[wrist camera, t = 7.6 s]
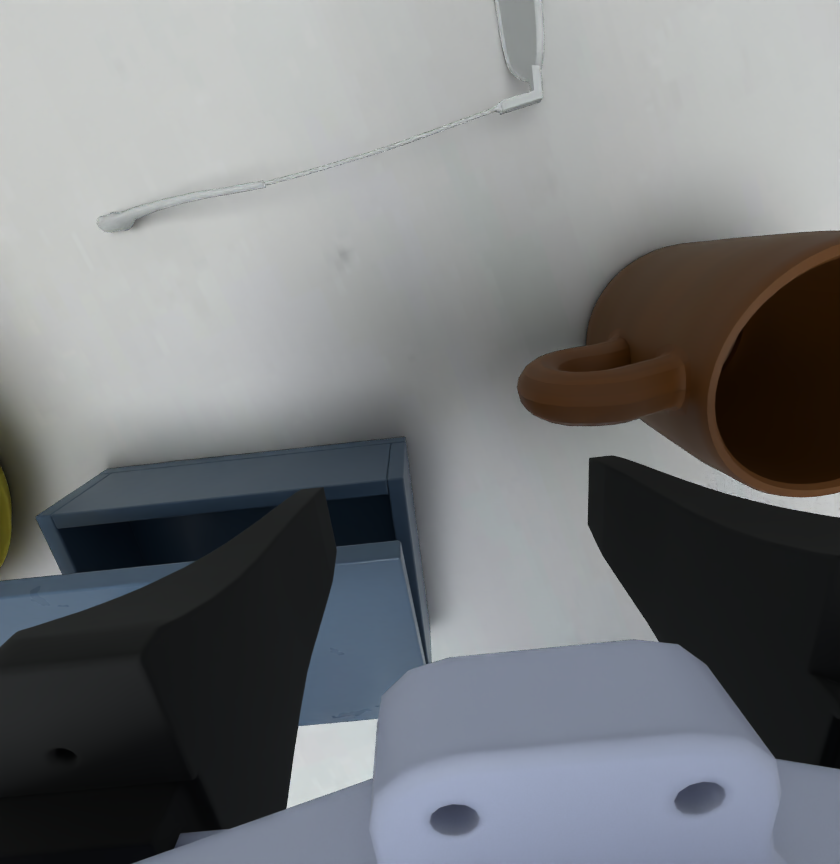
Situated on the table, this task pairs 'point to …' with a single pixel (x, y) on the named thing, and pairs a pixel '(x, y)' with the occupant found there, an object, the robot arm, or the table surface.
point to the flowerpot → (4, 517)
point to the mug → (716, 358)
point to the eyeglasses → (524, 60)
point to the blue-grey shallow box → (236, 508)
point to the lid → (336, 641)
